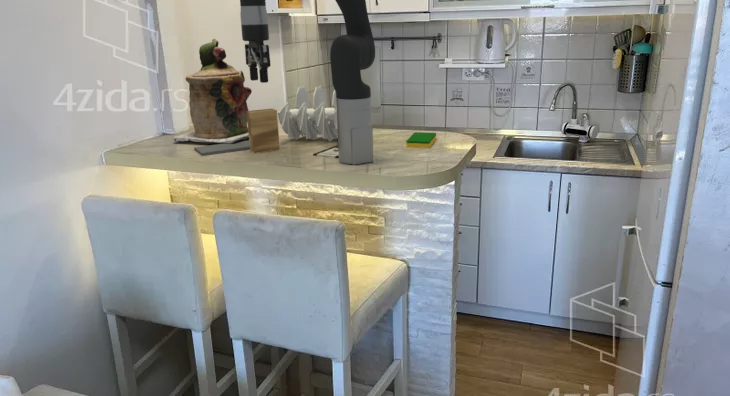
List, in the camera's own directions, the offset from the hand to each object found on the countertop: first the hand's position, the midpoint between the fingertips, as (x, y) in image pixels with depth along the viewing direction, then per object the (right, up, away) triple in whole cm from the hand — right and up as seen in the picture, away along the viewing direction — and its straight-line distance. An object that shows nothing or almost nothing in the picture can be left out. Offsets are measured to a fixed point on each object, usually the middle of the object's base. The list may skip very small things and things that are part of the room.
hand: (259, 81), depth 160 cm
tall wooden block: (+1, -20, +6) cm, 21 cm away
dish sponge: (+49, -18, +10) cm, 53 cm away
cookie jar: (-17, -13, +26) cm, 34 cm away
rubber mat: (-11, -19, +9) cm, 24 cm away
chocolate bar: (+24, -21, +3) cm, 32 cm away
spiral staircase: (+18, -16, +18) cm, 30 cm away
